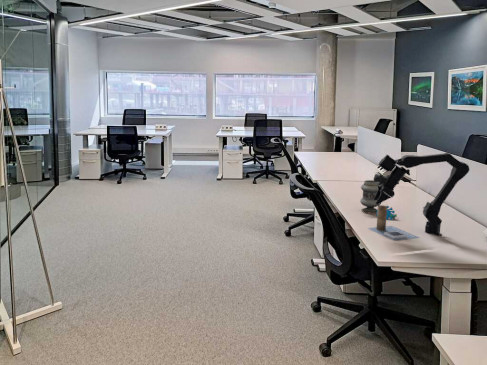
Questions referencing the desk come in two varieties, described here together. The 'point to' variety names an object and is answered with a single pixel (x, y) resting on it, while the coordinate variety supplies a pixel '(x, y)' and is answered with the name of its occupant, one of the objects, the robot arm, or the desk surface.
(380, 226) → the tan wooden peg
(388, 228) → the board
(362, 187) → the apothecary jar
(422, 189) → the desk surface
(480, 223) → the desk surface
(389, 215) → the blue virus model
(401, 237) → the metal collar
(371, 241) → the desk surface
